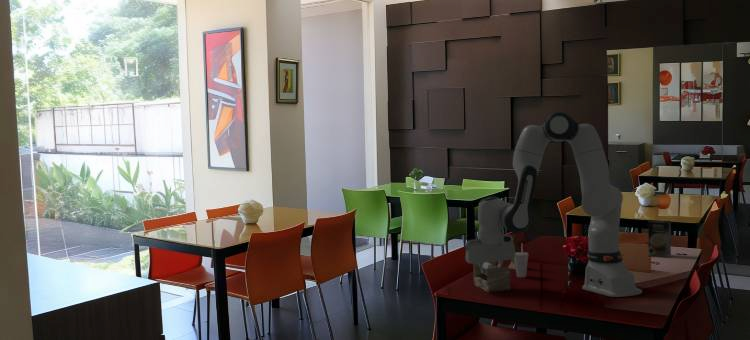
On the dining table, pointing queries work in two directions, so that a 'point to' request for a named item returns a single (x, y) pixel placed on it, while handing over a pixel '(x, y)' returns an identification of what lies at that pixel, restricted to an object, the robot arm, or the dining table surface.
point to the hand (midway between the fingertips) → (490, 272)
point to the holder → (492, 278)
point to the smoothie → (521, 262)
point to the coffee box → (659, 238)
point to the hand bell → (516, 243)
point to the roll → (488, 267)
